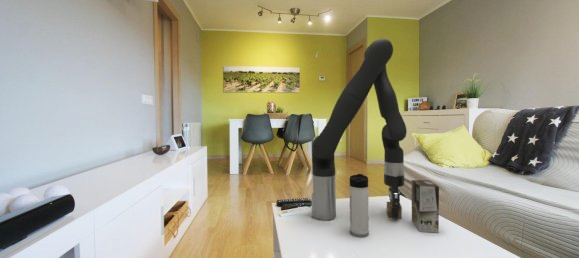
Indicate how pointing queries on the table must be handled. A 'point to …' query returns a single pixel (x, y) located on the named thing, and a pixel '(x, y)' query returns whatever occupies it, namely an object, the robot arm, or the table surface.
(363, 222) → the travel mug
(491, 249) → the table surface
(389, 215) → the walnut block
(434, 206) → the coffee box
